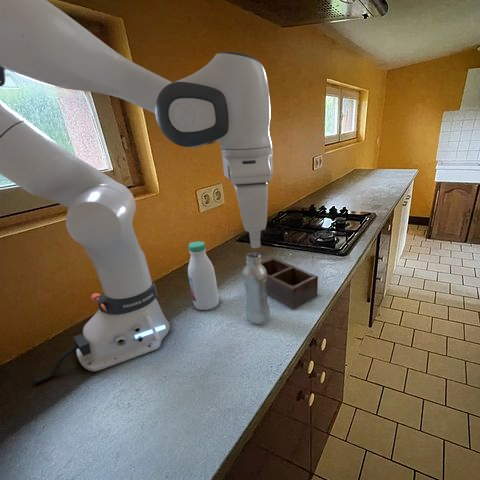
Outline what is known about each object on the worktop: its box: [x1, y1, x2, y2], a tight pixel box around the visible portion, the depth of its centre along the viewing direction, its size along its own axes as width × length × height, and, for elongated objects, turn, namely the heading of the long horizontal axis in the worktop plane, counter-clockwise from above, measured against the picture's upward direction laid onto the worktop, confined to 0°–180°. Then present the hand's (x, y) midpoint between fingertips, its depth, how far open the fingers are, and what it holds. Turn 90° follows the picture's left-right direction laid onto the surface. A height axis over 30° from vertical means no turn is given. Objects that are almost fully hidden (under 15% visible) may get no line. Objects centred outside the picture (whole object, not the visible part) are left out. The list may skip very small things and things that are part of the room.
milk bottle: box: [187, 240, 220, 311], centre depth 89 cm, size 8×8×20 cm
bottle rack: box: [261, 257, 319, 310], centre depth 97 cm, size 11×21×7 cm, turn 42°
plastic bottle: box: [241, 251, 271, 325], centre depth 80 cm, size 6×7×20 cm
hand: (253, 237), depth 60 cm, fingers open, 8 cm apart
